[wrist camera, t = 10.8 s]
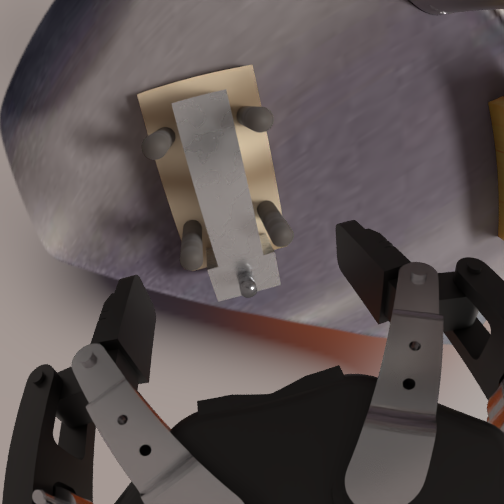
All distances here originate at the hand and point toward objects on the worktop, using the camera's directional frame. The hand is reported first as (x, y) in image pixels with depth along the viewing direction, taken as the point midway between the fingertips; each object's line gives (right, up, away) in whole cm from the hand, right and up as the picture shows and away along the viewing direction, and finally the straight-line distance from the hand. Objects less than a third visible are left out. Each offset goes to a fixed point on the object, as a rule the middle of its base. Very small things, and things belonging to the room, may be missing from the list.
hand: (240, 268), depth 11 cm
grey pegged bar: (-2, +6, +15) cm, 16 cm away
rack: (-3, +8, +15) cm, 17 cm away
